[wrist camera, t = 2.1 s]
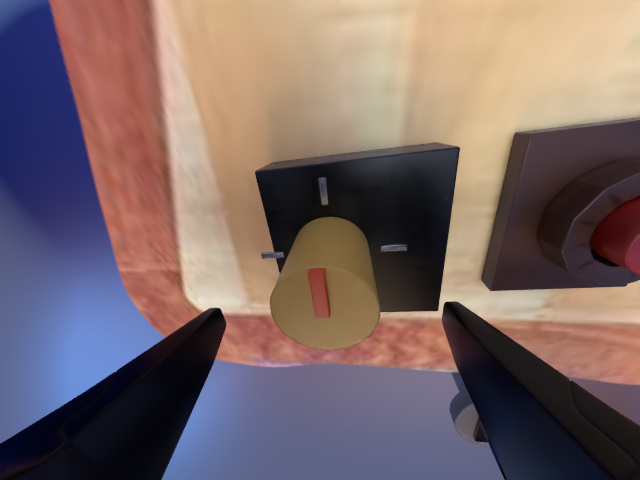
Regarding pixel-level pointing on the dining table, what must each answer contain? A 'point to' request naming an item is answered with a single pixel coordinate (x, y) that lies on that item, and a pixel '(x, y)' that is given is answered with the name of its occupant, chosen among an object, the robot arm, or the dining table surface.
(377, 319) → the lock knob
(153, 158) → the dining table surface
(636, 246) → the red button
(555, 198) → the button block
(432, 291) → the black dial base
